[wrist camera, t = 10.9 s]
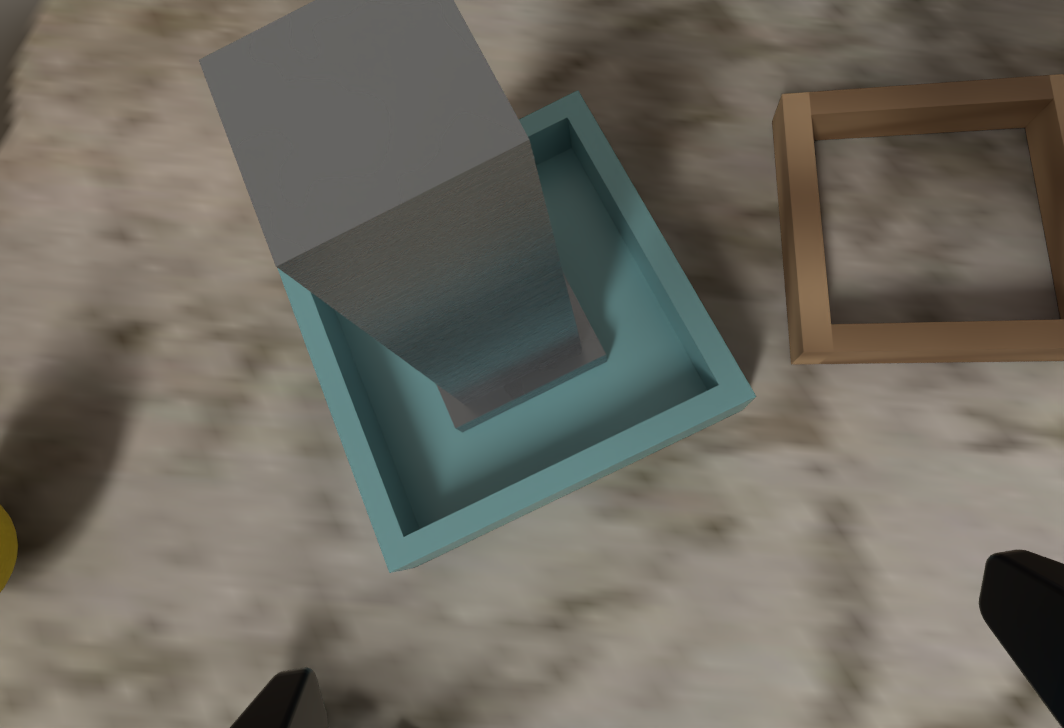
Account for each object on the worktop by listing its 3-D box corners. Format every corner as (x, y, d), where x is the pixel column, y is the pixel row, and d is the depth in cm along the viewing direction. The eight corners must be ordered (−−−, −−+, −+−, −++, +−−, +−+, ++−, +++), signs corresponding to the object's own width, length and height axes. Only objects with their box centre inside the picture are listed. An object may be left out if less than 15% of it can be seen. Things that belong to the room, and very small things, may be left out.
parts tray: (742, 410, 22) (756, 396, 19) (414, 567, 22) (389, 572, 20) (582, 130, 25) (578, 90, 23) (301, 269, 25) (268, 243, 23)
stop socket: (1099, 360, 20) (1138, 347, 19) (791, 364, 22) (803, 351, 20) (1048, 103, 23) (1079, 72, 21) (771, 121, 24) (782, 93, 22)
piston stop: (607, 361, 22) (580, 151, 10) (462, 432, 22) (252, 316, 10) (538, 231, 24) (440, -95, 11) (404, 298, 24) (159, 50, 11)
